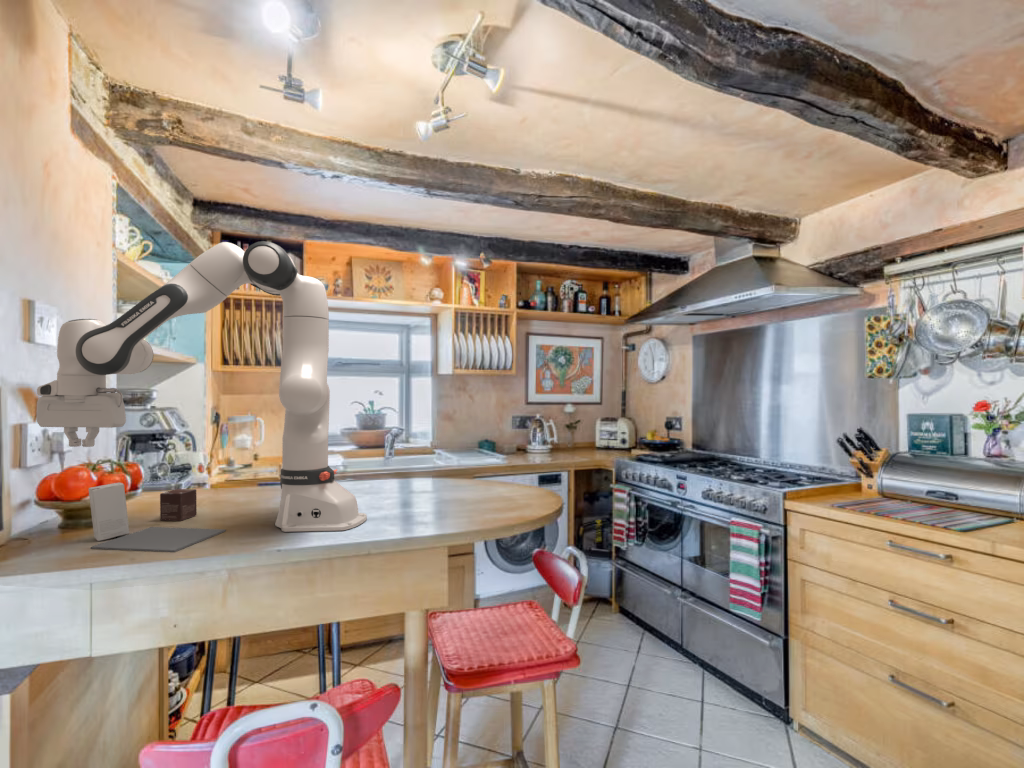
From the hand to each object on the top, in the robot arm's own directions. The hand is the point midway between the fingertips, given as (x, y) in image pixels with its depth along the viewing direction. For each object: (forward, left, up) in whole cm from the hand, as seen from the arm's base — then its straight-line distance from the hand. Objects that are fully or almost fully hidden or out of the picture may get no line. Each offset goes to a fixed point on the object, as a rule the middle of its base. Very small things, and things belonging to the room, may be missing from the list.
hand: (81, 446), depth 119 cm
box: (-10, -18, -21) cm, 30 cm away
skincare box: (-8, 0, -21) cm, 23 cm away
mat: (-21, 0, -21) cm, 30 cm away
